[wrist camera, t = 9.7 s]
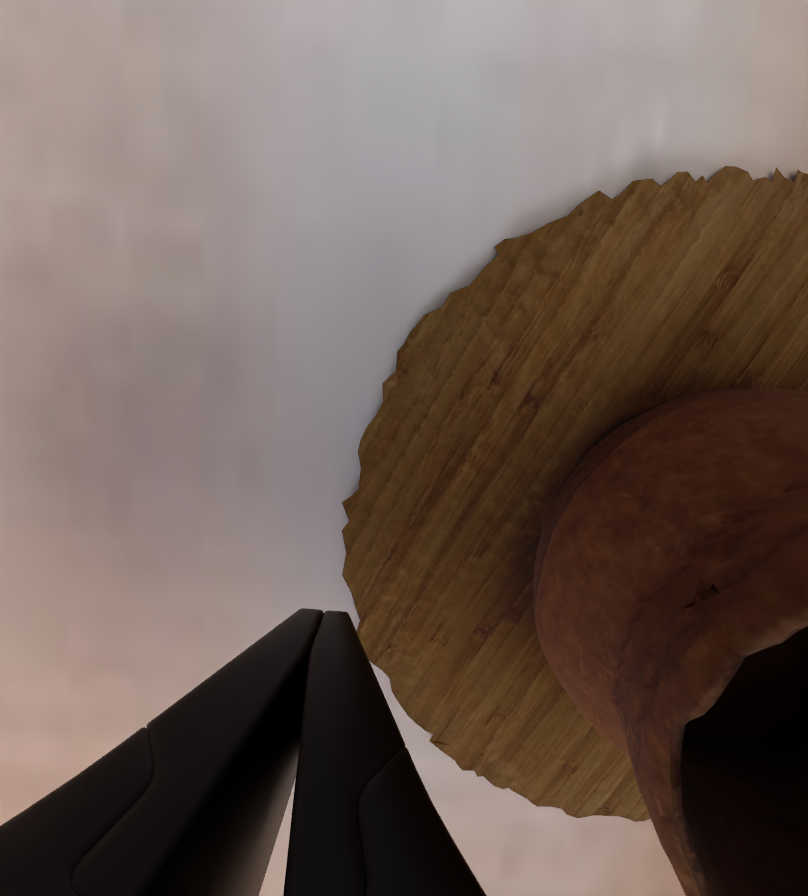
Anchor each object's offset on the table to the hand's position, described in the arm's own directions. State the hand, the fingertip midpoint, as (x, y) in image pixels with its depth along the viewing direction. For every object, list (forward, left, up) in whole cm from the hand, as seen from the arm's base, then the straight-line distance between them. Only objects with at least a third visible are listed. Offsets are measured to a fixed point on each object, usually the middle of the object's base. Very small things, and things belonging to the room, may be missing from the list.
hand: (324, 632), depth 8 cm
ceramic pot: (-8, -3, -4) cm, 10 cm away
